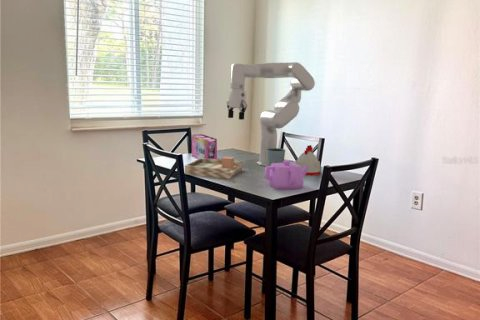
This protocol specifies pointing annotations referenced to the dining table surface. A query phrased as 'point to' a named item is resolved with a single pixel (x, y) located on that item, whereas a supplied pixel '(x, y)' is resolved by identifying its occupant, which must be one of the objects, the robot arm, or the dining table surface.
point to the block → (228, 162)
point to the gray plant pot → (275, 155)
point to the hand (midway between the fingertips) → (235, 118)
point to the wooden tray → (212, 168)
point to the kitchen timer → (309, 161)
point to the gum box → (204, 147)
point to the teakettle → (285, 175)
